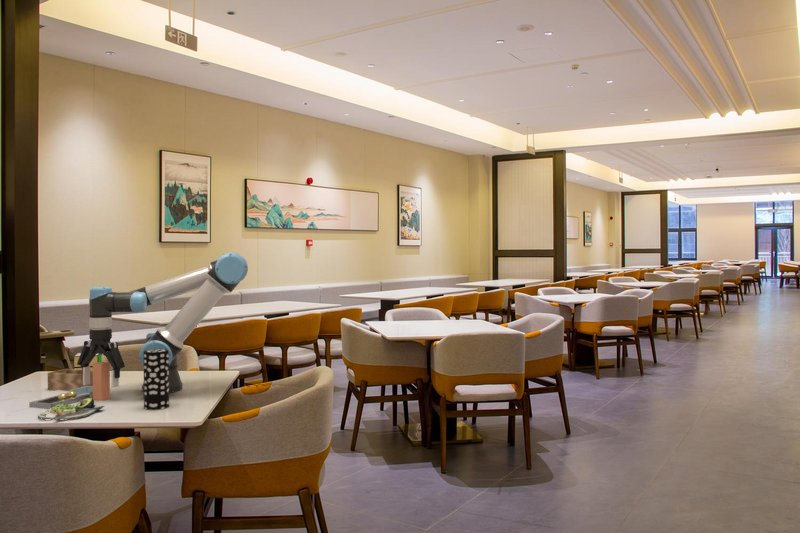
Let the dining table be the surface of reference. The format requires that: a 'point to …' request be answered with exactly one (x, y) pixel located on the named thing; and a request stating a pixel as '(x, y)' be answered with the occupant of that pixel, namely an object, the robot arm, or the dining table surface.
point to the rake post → (101, 381)
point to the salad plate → (72, 410)
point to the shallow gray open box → (56, 401)
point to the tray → (84, 391)
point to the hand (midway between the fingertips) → (100, 385)
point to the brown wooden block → (67, 379)
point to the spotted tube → (156, 379)
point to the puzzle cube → (96, 359)
